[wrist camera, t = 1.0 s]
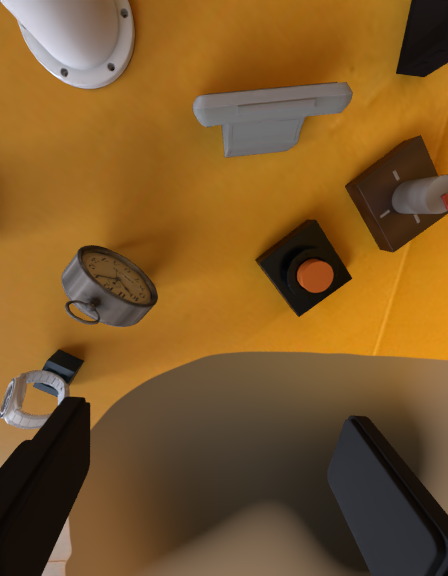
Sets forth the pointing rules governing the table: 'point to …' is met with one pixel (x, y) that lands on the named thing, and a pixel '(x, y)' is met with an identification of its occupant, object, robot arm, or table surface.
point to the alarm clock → (107, 287)
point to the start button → (315, 275)
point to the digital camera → (425, 38)
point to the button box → (291, 254)
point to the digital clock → (268, 114)
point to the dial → (422, 196)
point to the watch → (49, 380)
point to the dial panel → (379, 190)
